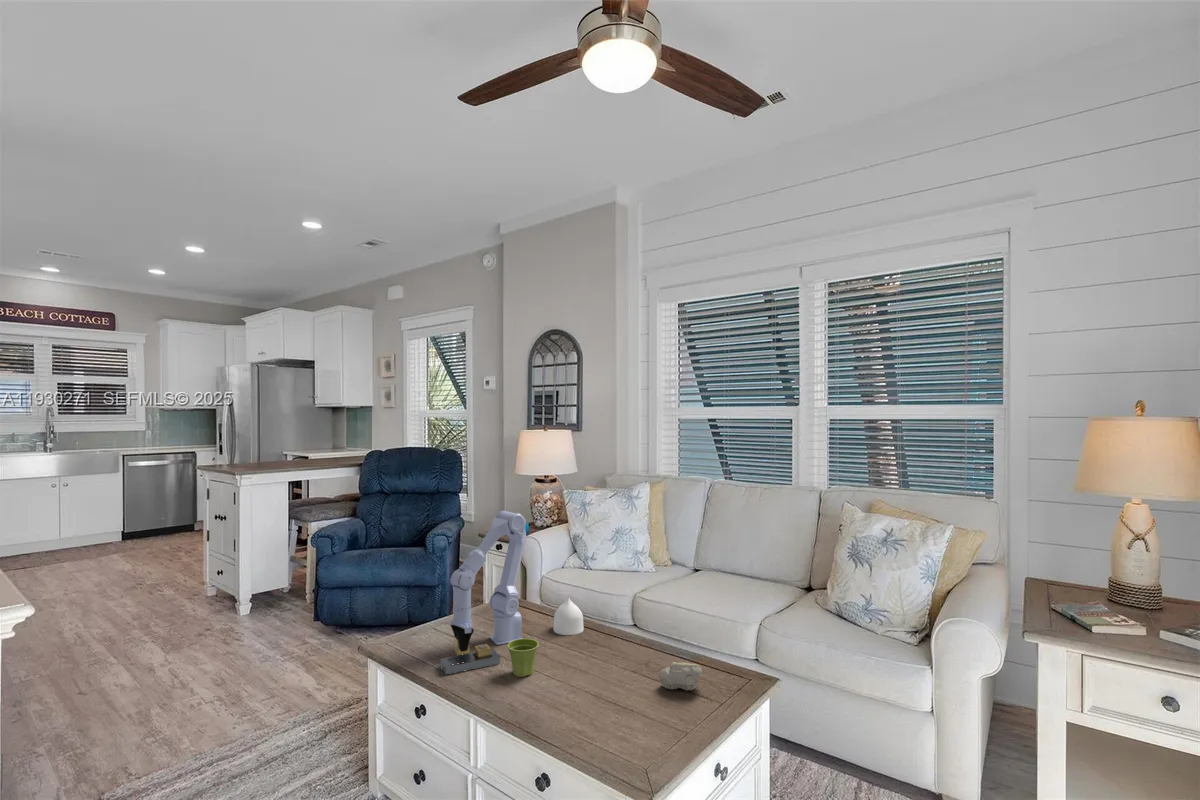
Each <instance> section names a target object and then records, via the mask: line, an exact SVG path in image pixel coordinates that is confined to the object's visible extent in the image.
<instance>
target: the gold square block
mask: <svg viewBox="0 0 1200 800" xmlns="http://www.w3.org/2000/svg"><path fill="white" fill-rule="evenodd" d="M453 637H454V638H453V640H454V641H453V652H454V651H455V652H454V653H455V655H456V654H457V655H462V654H468V653H471V652H470V651H471V650H470V647H471V645H470V644H471V642H470V641H471V640H470V641H469V645H468V649H467V651H462V652H461V651H460V646H459V639H458V636H453ZM457 655H456V656H457Z"/></svg>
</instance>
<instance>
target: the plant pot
mask: <svg viewBox="0 0 1200 800" xmlns="http://www.w3.org/2000/svg"><path fill="white" fill-rule="evenodd" d="M539 644H540V643H539V641H537V640H536V639H533V638H522V639H517V640H513V641H511V642H510V643H507V649H508V652H509V655H510V660H511V669H512V674H513V675H514V676H515V677H520V678H524V677H526V676H532V674H533V673H534V669H535V662H536V661H535V660H536V654H537V650H538V647H539Z"/></svg>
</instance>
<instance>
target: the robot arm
mask: <svg viewBox="0 0 1200 800" xmlns="http://www.w3.org/2000/svg"><path fill="white" fill-rule="evenodd" d="M526 524H527V520H526V519H525V517H524V516H523V515H522V514H521V513H518V512H517V513H516V512H511V511H507V510H501V511H499V512H498V513H497V514H496V516H495V517H494V518H493V519H492V522H491V526H490V528H489V529H488V531H487V533H486V535H485V536H484V538H483V539H482V540H481V543H480V544H479V546H478V547H477V548H476V549H473V550H471V551H469V552H468V554H467V557H466V558H465V560H464V562H463V563H462V564H461V565H459V567H458V569H456V570H454V571H453V572H452V574H451V577H450V578H449V583H450V585H451V586H452V590H453V591H452V595H453V596H452V597H453V598H452V601H453V603H452V604H453V605H452V607H453V608H452V611H453V612H452V620H450V621H449V622H448V623H449V625H450V628H451V630H452V632H453V635H454V636H458V639H459V646H460V651H461V652H462V651H467V649H468V645H469V641H471V638H472V636H473V633H474V632H475V630H474V628H472V587H473V586H474V585H475V581H476V576H477V574H478V572H479V571H480V569H481V568H482V566H484V564H485V562H486V561H487V556H486V555H487V553H488V552H489V551H490V550H491V548H492V547H493V546H494V545H495V543H496V542H497V541H498V540H499V539H500V537H502V536H503V537H504V536H507V538H508V539H509V542H508V547H507V551H506V555H505V559H504V564H503V567H502V573H501V578H500V582H499V584H497V586H495V588H494V590H493V593H492V595H491V596H490V598H489V607H490V609H492V613H493V633H492V634H493V635H490V636H489V639H490V640H491V641H492V642H493V643H494V644H495V645H496V646H497V645H504V644H508V643H510V642H511V641H513V640H517V639H523V620H522V615H521V613H520V611H518V609H519V605H520V604H519V596H520V595H519V591H518V590H517V587H516V584H517V581H518V580H517V579H518V576H519V571H520V567H521V562H522V557H523V553H524V548H525V543H526V541H527V540H526V538H527V532H526V531H527V530H526ZM454 636H453V637H454Z"/></svg>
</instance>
